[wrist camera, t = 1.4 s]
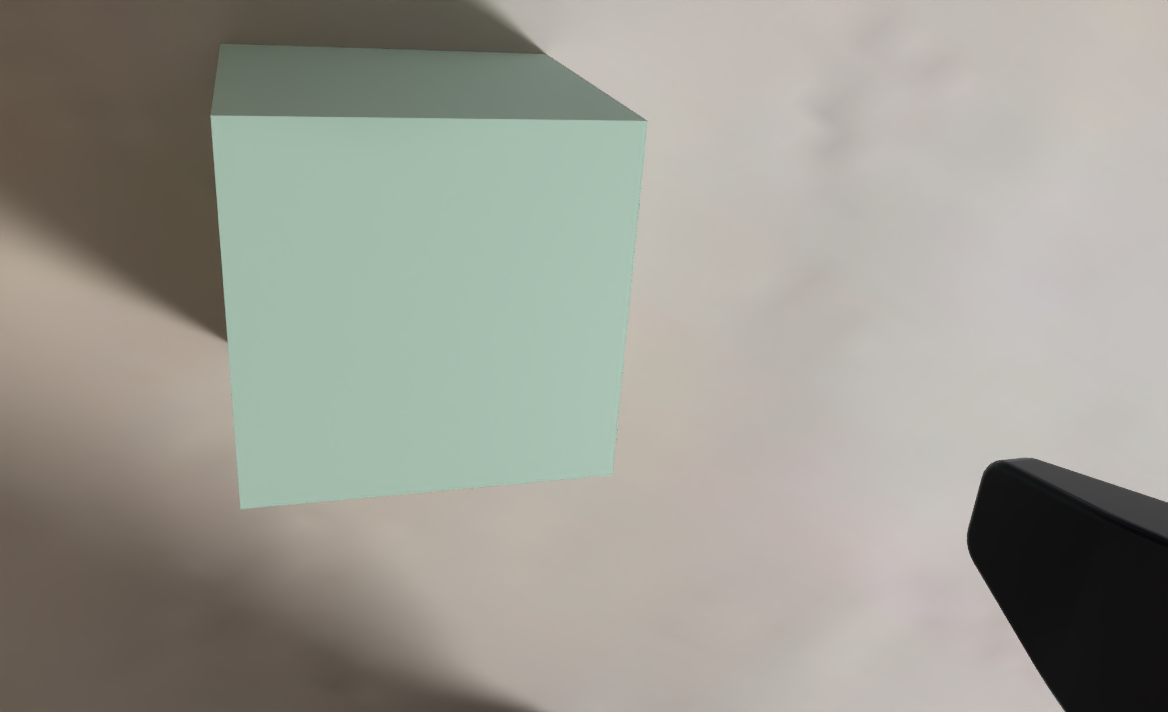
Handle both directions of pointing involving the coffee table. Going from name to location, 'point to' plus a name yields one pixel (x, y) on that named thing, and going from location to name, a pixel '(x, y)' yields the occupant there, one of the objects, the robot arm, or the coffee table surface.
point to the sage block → (420, 268)
